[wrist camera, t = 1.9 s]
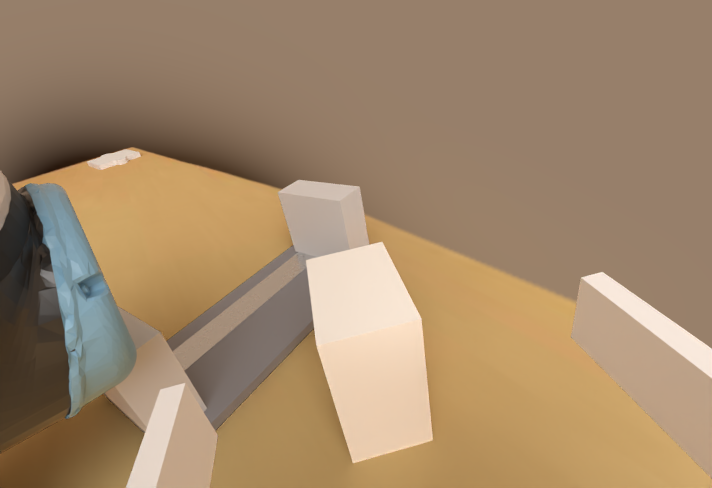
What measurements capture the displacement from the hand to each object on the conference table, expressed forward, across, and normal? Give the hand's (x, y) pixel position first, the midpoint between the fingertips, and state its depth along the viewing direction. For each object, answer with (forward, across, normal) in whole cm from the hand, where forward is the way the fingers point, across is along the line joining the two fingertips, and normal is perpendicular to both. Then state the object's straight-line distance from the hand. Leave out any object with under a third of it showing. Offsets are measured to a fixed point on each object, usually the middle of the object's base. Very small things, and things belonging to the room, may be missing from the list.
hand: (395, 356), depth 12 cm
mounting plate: (+128, -66, -15) cm, 145 cm away
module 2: (+34, -1, -15) cm, 38 cm away
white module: (+11, 0, -17) cm, 20 cm away
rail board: (+25, -10, -16) cm, 32 cm away
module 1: (+16, -20, -16) cm, 30 cm away
